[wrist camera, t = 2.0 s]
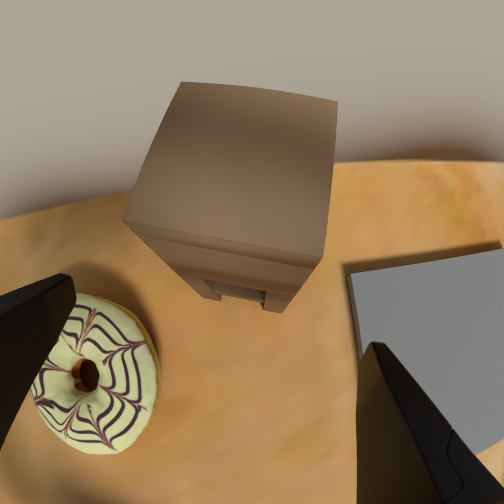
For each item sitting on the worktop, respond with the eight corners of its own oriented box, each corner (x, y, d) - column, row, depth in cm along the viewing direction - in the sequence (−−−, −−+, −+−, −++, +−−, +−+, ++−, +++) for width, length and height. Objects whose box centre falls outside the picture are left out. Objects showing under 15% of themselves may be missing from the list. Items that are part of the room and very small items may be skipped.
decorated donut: (35, 405, 18) (6, 410, 14) (64, 282, 21) (36, 270, 17) (148, 465, 17) (129, 485, 13) (185, 326, 20) (170, 321, 16)
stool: (281, 313, 20) (322, 257, 7) (202, 297, 20) (122, 220, 8) (295, 237, 21) (337, 101, 9) (220, 224, 22) (181, 81, 9)
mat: (521, 420, 16) (528, 421, 15) (368, 492, 16) (372, 497, 15) (503, 250, 21) (510, 247, 20) (346, 277, 20) (350, 273, 19)
